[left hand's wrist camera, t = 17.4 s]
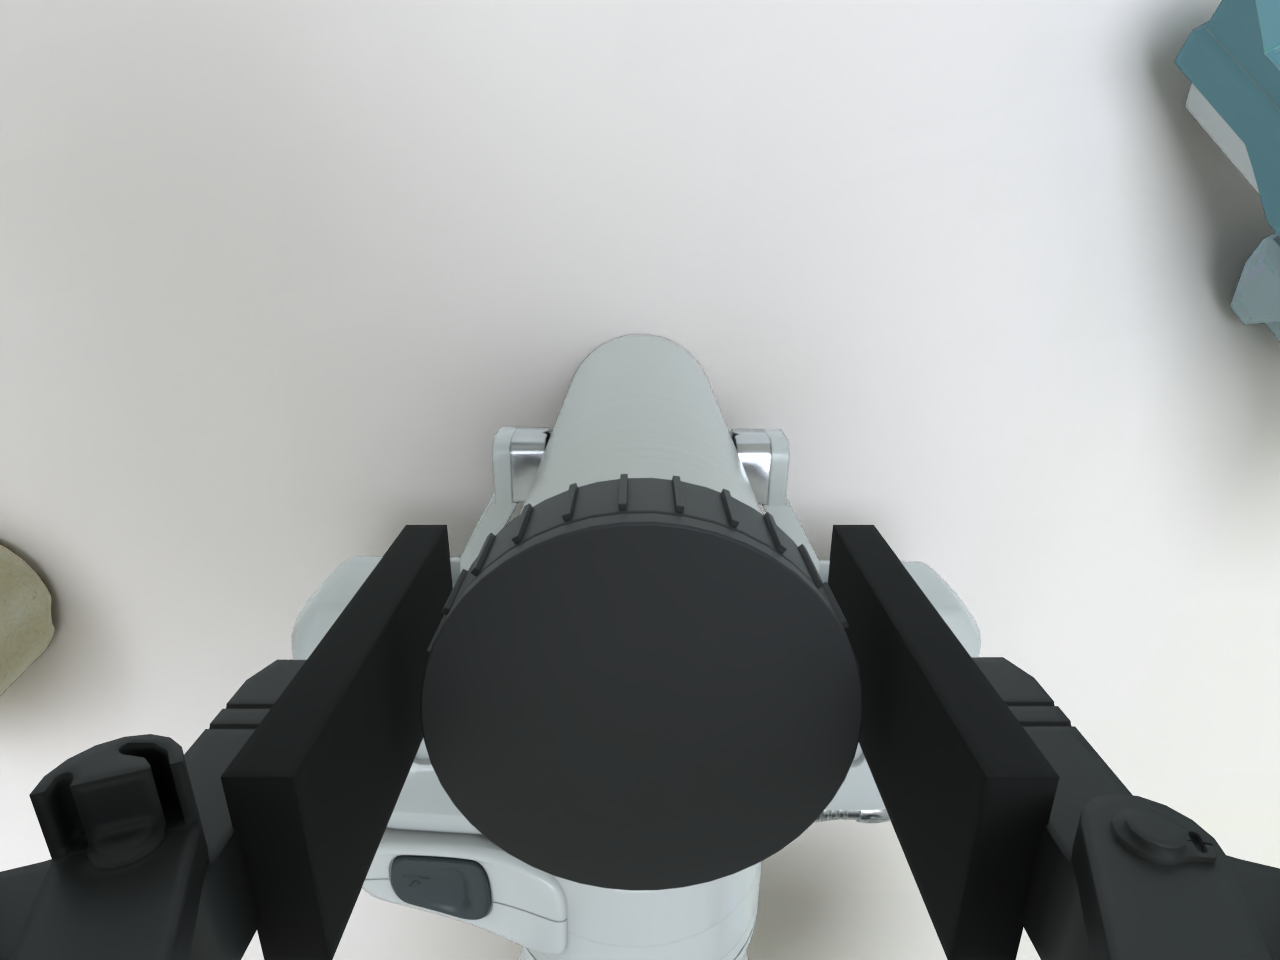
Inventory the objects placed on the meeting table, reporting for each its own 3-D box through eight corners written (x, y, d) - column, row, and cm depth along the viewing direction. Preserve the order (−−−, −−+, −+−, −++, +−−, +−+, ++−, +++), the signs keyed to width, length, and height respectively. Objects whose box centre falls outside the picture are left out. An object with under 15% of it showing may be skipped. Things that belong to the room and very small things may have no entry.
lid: (839, 454, 11) (875, 498, 9) (835, 798, 13) (863, 882, 11) (412, 487, 11) (372, 535, 9) (478, 821, 13) (455, 908, 12)
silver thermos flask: (719, 464, 28) (831, 819, 12) (581, 483, 28) (501, 855, 12) (704, 324, 26) (810, 512, 10) (556, 345, 27) (423, 562, 10)
